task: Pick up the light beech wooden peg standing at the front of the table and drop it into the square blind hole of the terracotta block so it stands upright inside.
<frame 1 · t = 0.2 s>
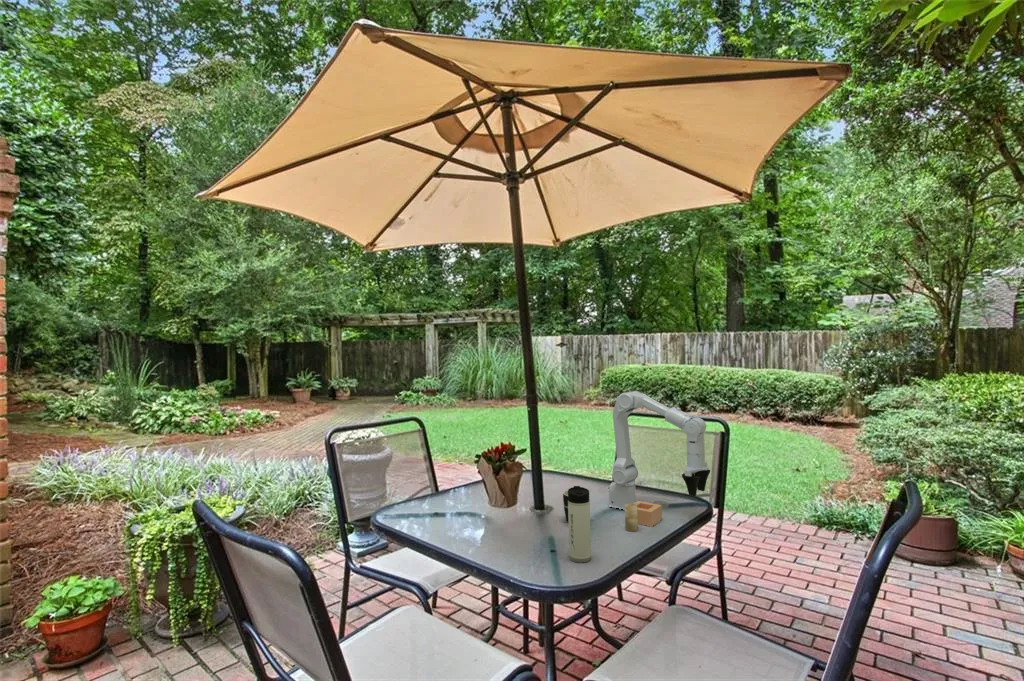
hand: (696, 493, 169), 10 cm above the table, tool pointing down, fingers open, 7 cm apart
travel mug: (580, 558, 142), on the table
peg: (631, 529, 163), on the table
socket block: (644, 520, 171), on the table
mug: (578, 524, 170), on the table
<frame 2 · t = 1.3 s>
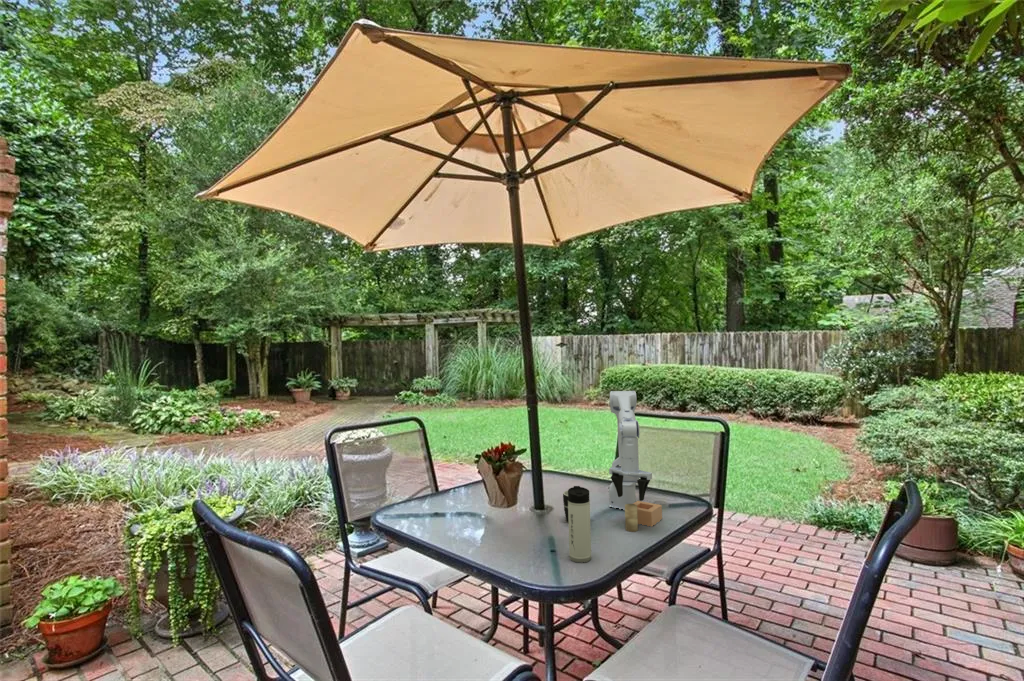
hand: (630, 498, 163), 10 cm above the table, tool pointing down, fingers open, 7 cm apart
nothing on the table moved.
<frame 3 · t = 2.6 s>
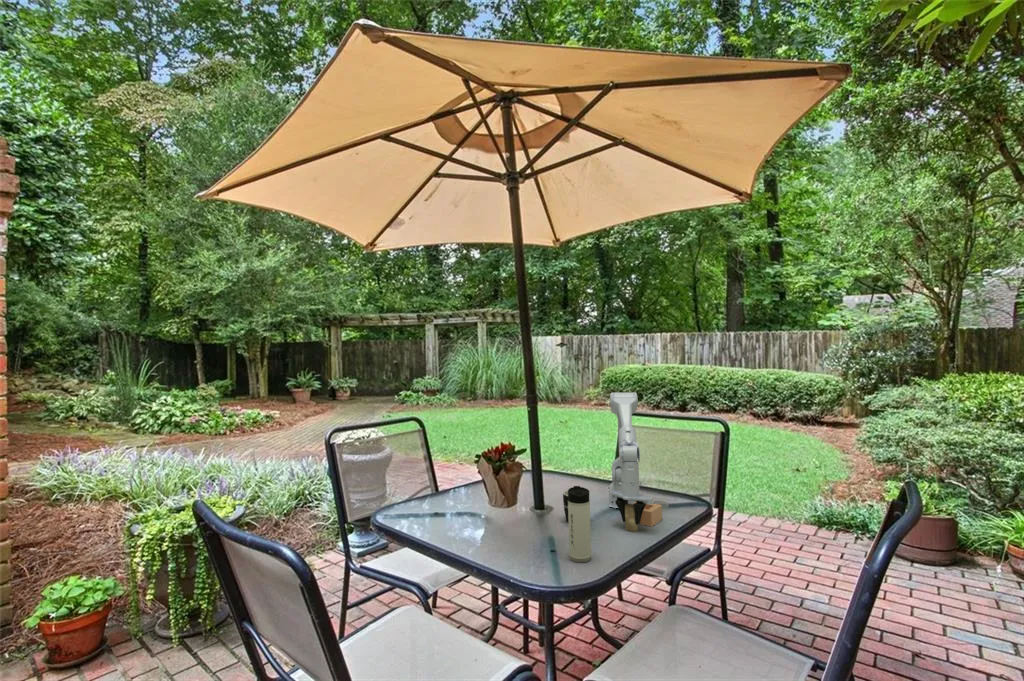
hand: (631, 522, 163), 2 cm above the table, tool pointing down, fingers closed on peg, 4 cm apart
peg: (631, 529, 163), on the table, touching gripper
everything else where it was.
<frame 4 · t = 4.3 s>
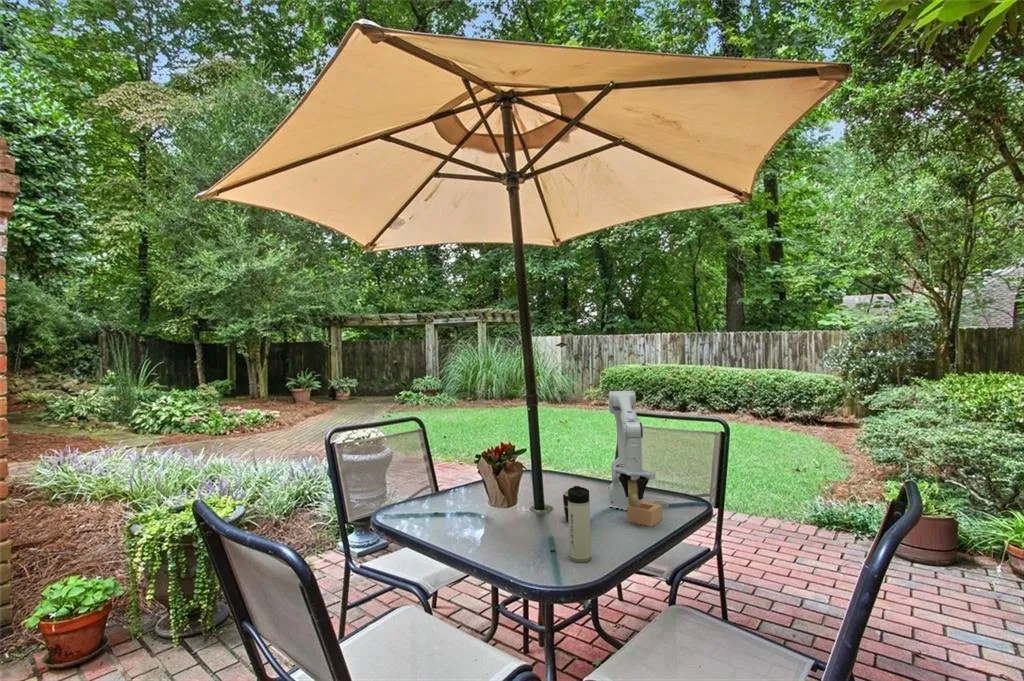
hand: (634, 497, 166), 10 cm above the table, tool pointing down, fingers closed on peg, 4 cm apart
peg: (634, 505, 166), point 7 cm above the table, touching gripper
everything else where it was.
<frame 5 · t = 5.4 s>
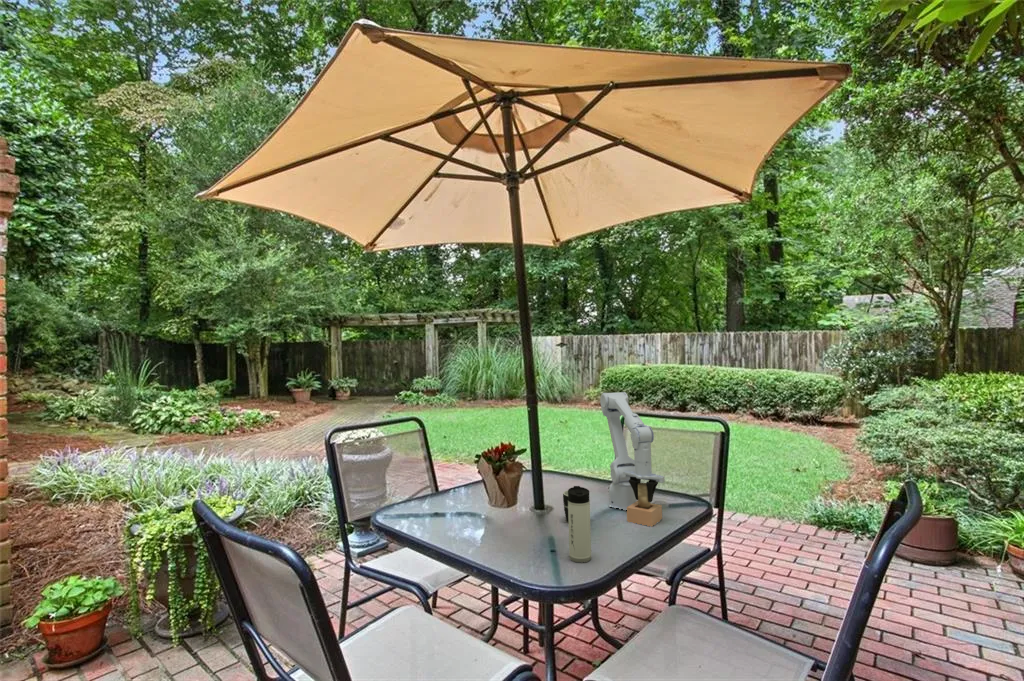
hand: (644, 500, 172), 7 cm above the table, tool pointing down, fingers closed on peg, 4 cm apart
peg: (644, 507, 171), point 5 cm above the table, touching gripper
everything else where it was.
when the fingers open (6 cm above the table, at t = 6.1 s): peg drops 2 cm, resting on socket block.
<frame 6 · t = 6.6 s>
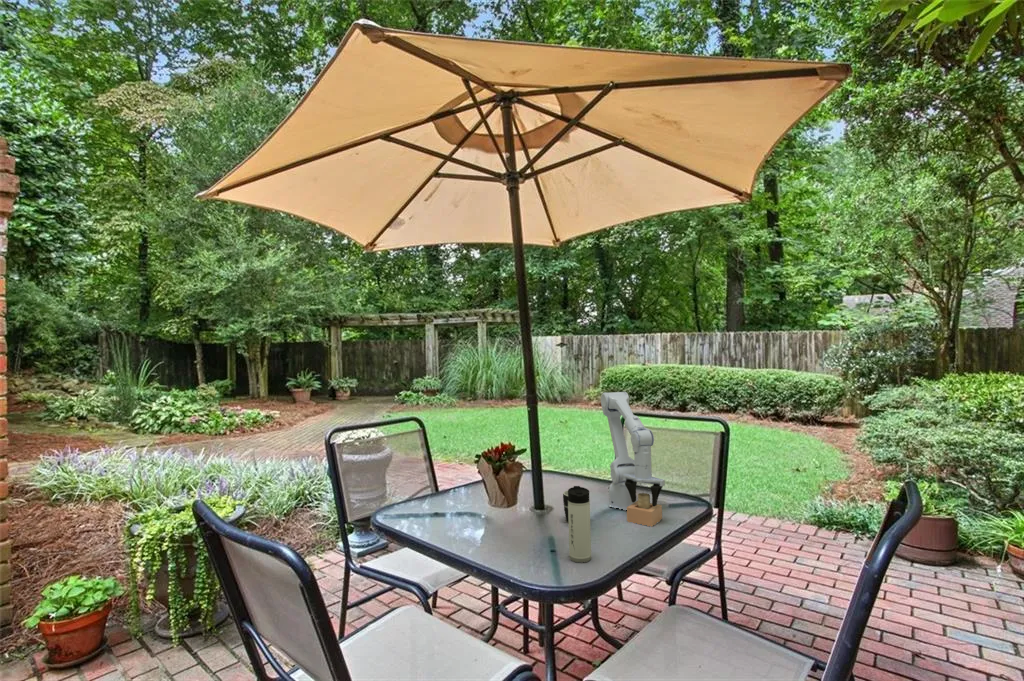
hand: (644, 503, 172), 6 cm above the table, tool pointing down, fingers open, 7 cm apart
peg: (644, 517, 171), point 1 cm above the table, touching socket block
everything else where it was.
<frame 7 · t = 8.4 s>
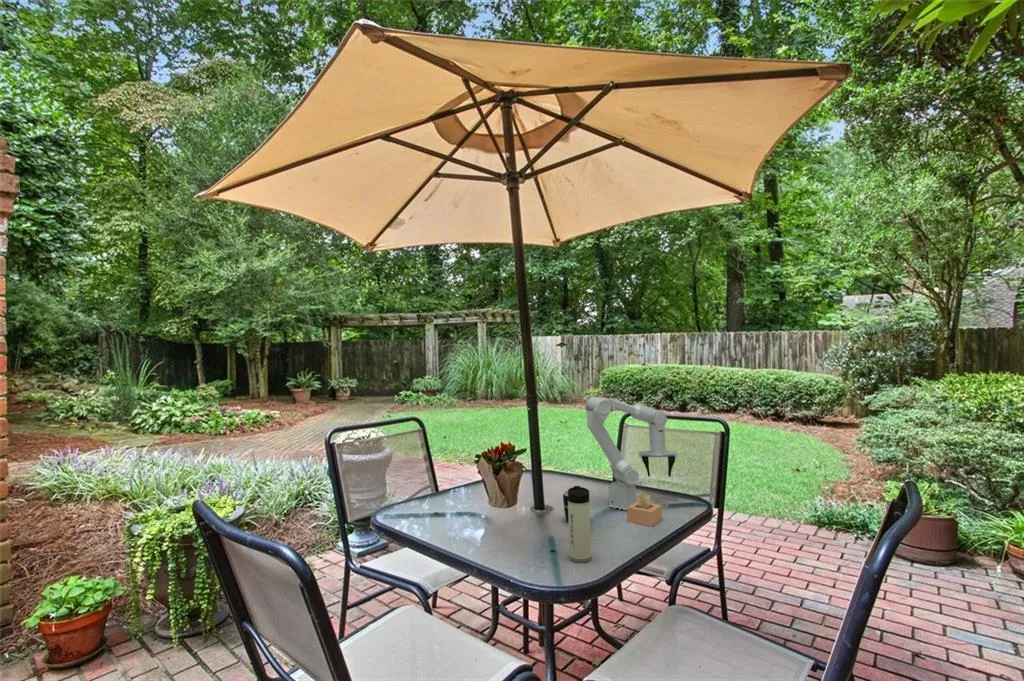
hand: (659, 475, 190), 10 cm above the table, tool pointing down, fingers open, 7 cm apart
nothing on the table moved.
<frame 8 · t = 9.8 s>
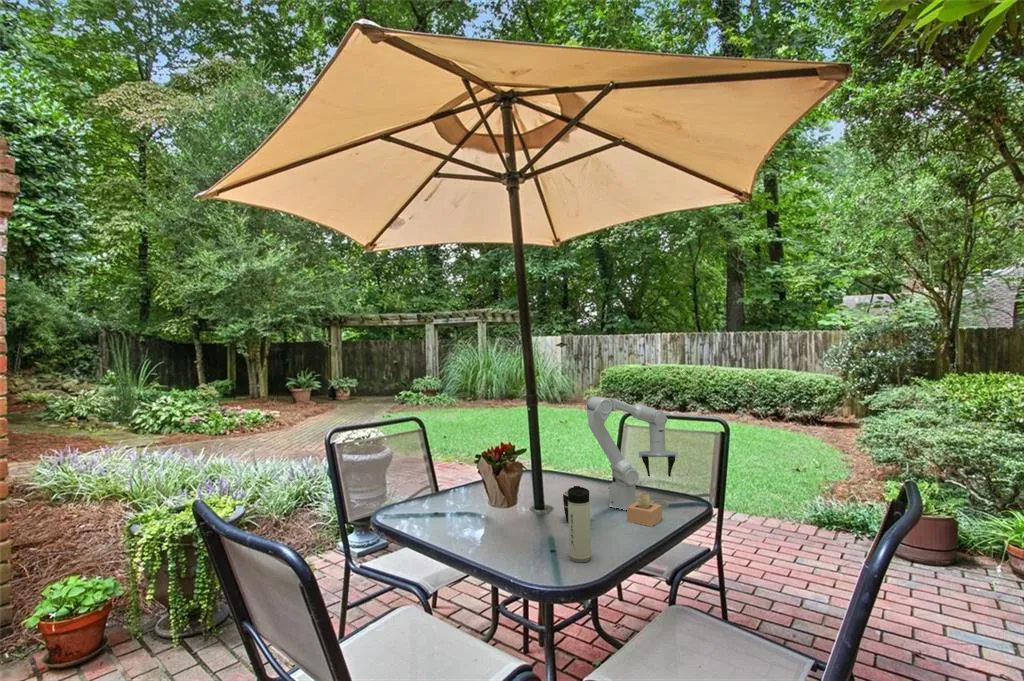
hand: (659, 475, 191), 10 cm above the table, tool pointing down, fingers open, 7 cm apart
nothing on the table moved.
at the end: peg 0.0 cm off-centre on the socket block, point 1.0 cm above the socket block's base; peg tilted 1°; the gripper is holding nothing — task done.
